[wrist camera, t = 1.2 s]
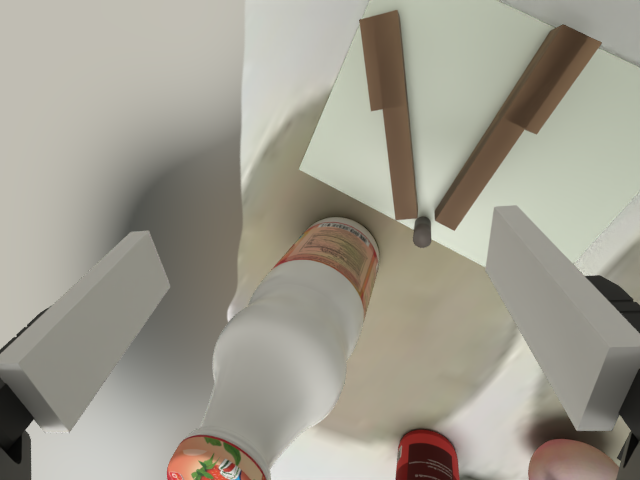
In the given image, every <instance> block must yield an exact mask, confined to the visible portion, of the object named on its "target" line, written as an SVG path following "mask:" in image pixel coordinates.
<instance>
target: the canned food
mask: <svg viewBox="0 0 640 480" xmlns="http://www.w3.org/2000/svg"><path fill="white" fill-rule="evenodd" d="M396 480H459V470H458V459H457V455H456V452H455V450H454V448H453V446H452V444H451V443H450V442H449V441H448V440H447V439H446V438H445V437H443V436H442V435H440V434H438V433H436V432H433V431H429V430H414V431H411V432H409V433H407V434H406V435H405V436H404V437H403V438H402V440H401V442H400V444H399V447H398V458H397V469H396Z"/></svg>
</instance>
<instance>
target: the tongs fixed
mask: <svg viewBox="0 0 640 480" xmlns="http://www.w3.org/2000/svg"><path fill="white" fill-rule="evenodd" d="M601 44H602V42H600V41H597V40H595V39H593V38H591V37H589V36H587V35H585V34H583V33H580V32H578V31H576V30H574V29H572V28H570V27H568V26H566V25H561V26H559V27H557V28H555V29H553V30H551V31H550V32H549V34H548V35H547V37H546V38H545V40H544V41H543V43H542V45H541V46H540V48H539V49H538V51H537V52H536V54H535V55H534V57H533V59H532V60H531V62H530V63H529V65H528V66H527V68H526V69H525V71H524V73H523V74H522V76H521V77H520V79H519V80H518V82H517V83H516V85H515V87H514V88H513V90H512V91H511V93H510V94H509V96H508V97H507V99H506V101H505V102H504V104H503V105H502V107H501V108H500V110H499V111H498V113H497V115H496V116H495V118H494V119H493V121H492V122H491V124H490V125H489V127H488V129H487V130H486V132H485V133H484V135H483V136H482V138H481V139H480V141H479V143H478V144H477V146H476V147H475V149H474V150H473V152H472V154H471V155H470V157H469V158H468V160H467V161H466V163H465V164H464V166H463V168H462V169H461V171H460V172H459V174H458V175H457V177H456V178H455V180H454V182H453V183H452V185H451V186H450V188H449V189H448V191H447V192H446V194H445V196H444V197H443V199H442V200H441V202H440V203H439V205H438V206H437V208H436V210H435V211H434V213H435V221H436V222H438V223H440V224H442V225H444V226H446V227H448V228H450V229H452V230H453V231H455V230H456V228H457V227H458V225H459V224H460V222H461V221H462V220H463V218H464V217H465V215H466V214H467V212H468V211H469V209H470V208H471V207H472V205H473V204H474V202H475V201H476V199H477V198H478V196H479V195H480V194H481V192H482V191H483V189H484V188H485V186H486V185H487V183H488V182H489V181H490V179H491V178H492V176H493V175H494V173H495V172H496V170H497V169H498V167H499V166H500V165H501V163H502V162H503V160H504V159H505V157H506V156H507V154H508V153H509V152H510V150H511V149H512V147H513V146H514V144H515V143H516V141H517V140H518V139H519V137H520V136H521V134H522V133H523V131H524V130H526V131H529V132H531V133H534V134H536V135H537V134H538V132H539V131H540V129H541V128H542V127H543V125H544V124H545V122H546V121H547V119H548V118H549V117H550V115H551V114H552V112H553V111H554V110H555V108H556V107H557V105H558V104H559V103H560V101H561V100H562V98H563V97H564V96H565V94H566V93H567V91H568V90H569V89H570V87H571V86H572V84H573V83H574V82H575V80H576V79H577V77H578V76H579V75H580V73H581V72H582V70H583V69H584V68H585V66H586V65H587V63H588V62H589V61H590V59H591V58H592V56H593V55H594V54H595V52H596V51H597V49H598V48H599V46H600V45H601ZM413 242H414V244H415V245H416V246H418V247H420V248H424V247H427V246H429V245H430V243H431V221H430V220H429V218H427V217H424V216H421V217H419V218H417V219H416V221H415V225H414V235H413Z"/></svg>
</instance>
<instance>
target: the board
mask: <svg viewBox="0 0 640 480" xmlns="http://www.w3.org/2000/svg"><path fill="white" fill-rule="evenodd" d="M394 10H398V13H399V15H400V22H401V32H402V43H403V54H404V64H405V75H406V85H407V96H408V107H409V117H410V128H411V138H412V149H413V160H414V170H415V181H416V192H417V202H418V217H417V218H419V217H421V216H424V217H427V218H429V220H430V221H431V239H432V240H434V241H436V242H438V243H440V244H442V245H444V246H446V247H447V248H449V249H451V250H453V251H455V252H457V253H459V254H461V255H463V256H465V257H467V258H468V259H470V260H472V261H474V262H476V263H478V264H480V265H482V266H484V267H486V261H487V254H488V247H489V239H490V232H491V225H492V218H493V211H494V207H497V206H512V205H517V206H518V207H519V208H520V209H521V210H522V211H523V212H524V213H525V214H526V215H527V216H528V218H529V219H530V220H531V221H532V222H533V223H534V224H535V225H536V226H537V227H538V228H539V229H540V230H541V231H542V232H543V233H544V234H545V235H546V236H547V237H548V238H549V239H550V240H551V242H552V243H553V244H554V245H555V246H556V247H557V248H558V249H559V250H560V251H561V252H562V253H563V254H564V255H565V256H566V257H567V258H568V259H569V260H570V261H571V262H572V263H573V264H574V263H575V262H576V261H577V259H578V258H579V257H580V256H581V255H582V254H583V253H584V252H585V251H586V250H587V249H588V247H589V246H590V245H591V244H592V243H593V242H594V241H595V240H596V239H597V238H598V237H599V235H600V234H601V233H602V232H603V231H604V230H605V229H606V228H607V227H608V226H609V225H610V223H611V222H612V221H613V220H614V219H615V218H616V217H617V216H618V215H619V214H620V213H621V211H622V210H623V209H624V208H625V207H626V206H627V205H628V204H629V203H630V202H631V201H632V199H633V198H634V197H635V196H636V195H637V194H638V193H639V192H640V67H638V66H636V65H634V64H631V63H629V62H627V61H625V60H623V59H621V58H619V57H617V56H614V55H612V54H610V53H608V52H606V51H604V50H602V49H600V48H598V49H597V51H596V52H595V54H594V55H593V56H592V58H591V59H590V61H589V62H588V63H587V65H586V66H585V68H584V69H583V70H582V72H581V73H580V75H579V76H578V77H577V79H576V80H575V82H574V83H573V84H572V86H571V87H570V89H569V90H568V91H567V93H566V94H565V96H564V97H563V98H562V100H561V101H560V103H559V104H558V105H557V107H556V108H555V110H554V111H553V112H552V114H551V115H550V117H549V118H548V119H547V121H546V122H545V124H544V125H543V127H542V128H541V129H540V131H539V132H538V134H537V135H536V134H534V133H531V132H529V131H526V130H524V131H523V133H522V134H521V136H520V137H519V139H518V140H517V141H516V143H515V144H514V146H513V147H512V149H511V150H510V152H509V153H508V154H507V156H506V157H505V159H504V160H503V162H502V163H501V165H500V166H499V167H498V169H497V170H496V172H495V173H494V175H493V176H492V178H491V179H490V181H489V182H488V183H487V185H486V186H485V188H484V189H483V191H482V192H481V194H480V195H479V196H478V198H477V199H476V201H475V202H474V204H473V205H472V207H471V208H470V209H469V211H468V212H467V214H466V215H465V217H464V218H463V220H462V221H461V222H460V224H459V225H458V227H457V228H456V230H455V231H453V230H452V229H450V228H448V227H446V226H444V225H442V224H440V223H438V222H436V221H435V213H434V211H435V210H436V208H437V206H438V205H439V203H440V202H441V200H442V199H443V197H444V196H445V194H446V192H447V191H448V189H449V188H450V186H451V185H452V183H453V182H454V180H455V178H456V177H457V175H458V174H459V172H460V171H461V169H462V168H463V166H464V164H465V163H466V161H467V160H468V158H469V157H470V155H471V154H472V152H473V150H474V149H475V147H476V146H477V144H478V143H479V141H480V139H481V138H482V136H483V135H484V133H485V132H486V130H487V129H488V127H489V125H490V124H491V122H492V121H493V119H494V118H495V116H496V115H497V113H498V111H499V110H500V108H501V107H502V105H503V104H504V102H505V101H506V99H507V97H508V96H509V94H510V93H511V91H512V90H513V88H514V87H515V85H516V83H517V82H518V80H519V79H520V77H521V76H522V74H523V73H524V71H525V69H526V68H527V66H528V65H529V63H530V62H531V60H532V59H533V57H534V55H535V54H536V52H537V51H538V49H539V48H540V46H541V45H542V43H543V41H544V40H545V38H546V37H547V35H548V34H549V32H550V31H551V30H553V29H555V27H553V26H551V25H549V24H546V23H544V22H542V21H540V20H538V19H536V18H534V17H532V16H529V15H527V14H525V13H523V12H521V11H519V10H517V9H515V8H512V7H510V6H508V5H506V4H504V3H502V2H500V1H497V0H369V3H368V5H367V8H366V10H365V12H364V15H363V17H362V19H364V18H368V17H372V16H375V15H379V14H383V13H387V12H390V11H394ZM299 170H301V171H303V172H305V173H307V174H309V175H310V176H312V177H314V178H316V179H318V180H320V181H322V182H324V183H326V184H328V185H329V186H331V187H333V188H335V189H337V190H339V191H341V192H343V193H345V194H347V195H348V196H350V197H352V198H354V199H356V200H358V201H360V202H362V203H364V204H366V205H368V206H369V207H371V208H373V209H375V210H377V211H379V212H381V213H383V214H385V215H387V216H388V217H390V218H392V219H394V220H395V212H394V203H393V195H392V186H391V178H390V169H389V160H388V152H387V143H386V135H385V126H384V118H383V109H382V110H376V111H371V108H370V101H369V93H368V85H367V77H366V69H365V61H364V53H363V45H362V38H361V30H360V24H359V27H358V29H357V31H356V34H355V36H354V39H353V41H352V43H351V46H350V48H349V51H348V53H347V55H346V58H345V60H344V63H343V65H342V67H341V70H340V72H339V75H338V77H337V79H336V82H335V84H334V86H333V89H332V91H331V94H330V96H329V98H328V101H327V103H326V106H325V108H324V110H323V113H322V115H321V118H320V120H319V122H318V125H317V127H316V130H315V132H314V134H313V137H312V139H311V141H310V144H309V146H308V149H307V151H306V153H305V156H304V158H303V161H302V163H301V165H300V168H299ZM396 221H398V222H400V223H402V224H404V225H406V226H407V227H409V228H411V229H413V230H414V225H415V221H416V219H405V220H396Z"/></svg>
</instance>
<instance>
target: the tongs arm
mask: <svg viewBox="0 0 640 480" xmlns="http://www.w3.org/2000/svg"><path fill="white" fill-rule="evenodd" d="M359 22H360V30H361V38H362V45H363V53H364V61H365V69H366V77H367V85H368V93H369V101H370V108H371V111H376V110H382V109H383V118H384V126H385V135H386V143H387V152H388V160H389V169H390V178H391V186H392V195H393V203H394V212H395V220H405V219H417V217H418V202H417V192H416V181H415V170H414V160H413V149H412V138H411V128H410V117H409V107H408V96H407V85H406V75H405V64H404V54H403V43H402V32H401V22H400V15H399V13H398V10H394V11H390V12H387V13H383V14H379V15H375V16H372V17H368V18H364V19H360V20H359Z"/></svg>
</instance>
